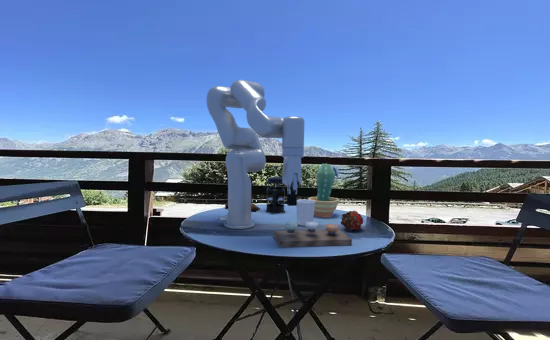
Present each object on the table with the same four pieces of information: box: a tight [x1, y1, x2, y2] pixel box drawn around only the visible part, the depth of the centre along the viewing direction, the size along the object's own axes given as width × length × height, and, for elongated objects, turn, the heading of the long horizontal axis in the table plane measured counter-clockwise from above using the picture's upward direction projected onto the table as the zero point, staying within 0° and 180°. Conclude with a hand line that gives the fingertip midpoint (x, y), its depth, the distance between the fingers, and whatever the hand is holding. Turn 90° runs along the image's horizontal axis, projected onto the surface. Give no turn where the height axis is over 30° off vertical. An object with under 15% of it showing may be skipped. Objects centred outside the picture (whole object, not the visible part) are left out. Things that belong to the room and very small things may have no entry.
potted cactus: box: [307, 163, 341, 218], centre depth 157 cm, size 15×15×25 cm
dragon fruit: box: [340, 210, 364, 232], centre depth 132 cm, size 8×8×12 cm
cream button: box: [304, 221, 319, 233], centre depth 116 cm, size 4×4×3 cm
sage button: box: [284, 221, 298, 233], centre depth 115 cm, size 4×4×3 cm
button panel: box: [273, 228, 353, 248], centre depth 116 cm, size 25×13×2 cm, turn 99°
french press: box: [265, 165, 286, 214], centre depth 163 cm, size 12×9×23 cm
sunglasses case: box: [224, 201, 261, 213], centre depth 170 cm, size 18×7×7 cm
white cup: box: [295, 199, 315, 227], centre depth 140 cm, size 8×8×10 cm
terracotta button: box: [325, 223, 339, 235], centre depth 117 cm, size 4×4×3 cm
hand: (291, 205), depth 114 cm, fingers closed
